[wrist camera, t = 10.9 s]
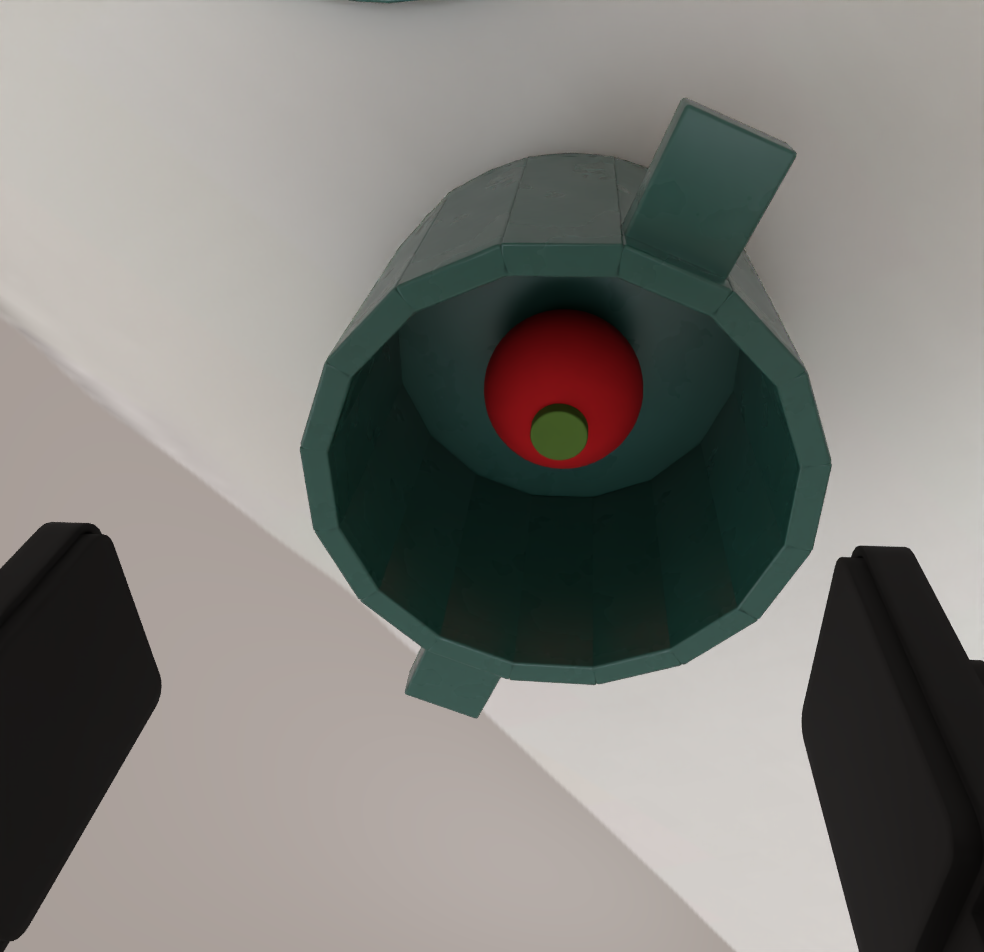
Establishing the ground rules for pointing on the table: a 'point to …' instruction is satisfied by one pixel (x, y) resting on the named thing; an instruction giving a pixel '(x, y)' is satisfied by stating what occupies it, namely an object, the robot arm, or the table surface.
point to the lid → (383, 1)
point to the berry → (563, 388)
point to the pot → (588, 489)
